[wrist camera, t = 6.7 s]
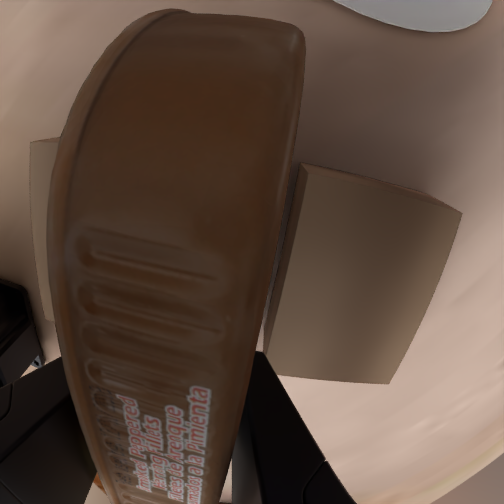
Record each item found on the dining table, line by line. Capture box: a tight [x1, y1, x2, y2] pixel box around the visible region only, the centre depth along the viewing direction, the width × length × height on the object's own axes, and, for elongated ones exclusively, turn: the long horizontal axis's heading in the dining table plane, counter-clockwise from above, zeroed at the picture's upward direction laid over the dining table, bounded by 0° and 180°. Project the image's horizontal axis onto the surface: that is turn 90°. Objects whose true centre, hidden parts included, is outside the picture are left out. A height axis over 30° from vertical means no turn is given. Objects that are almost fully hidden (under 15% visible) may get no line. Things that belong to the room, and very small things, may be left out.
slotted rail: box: [30, 137, 462, 384], centre depth 12 cm, size 16×8×3 cm, turn 81°
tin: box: [46, 9, 306, 504], centre depth 8 cm, size 15×3×8 cm, turn 170°
